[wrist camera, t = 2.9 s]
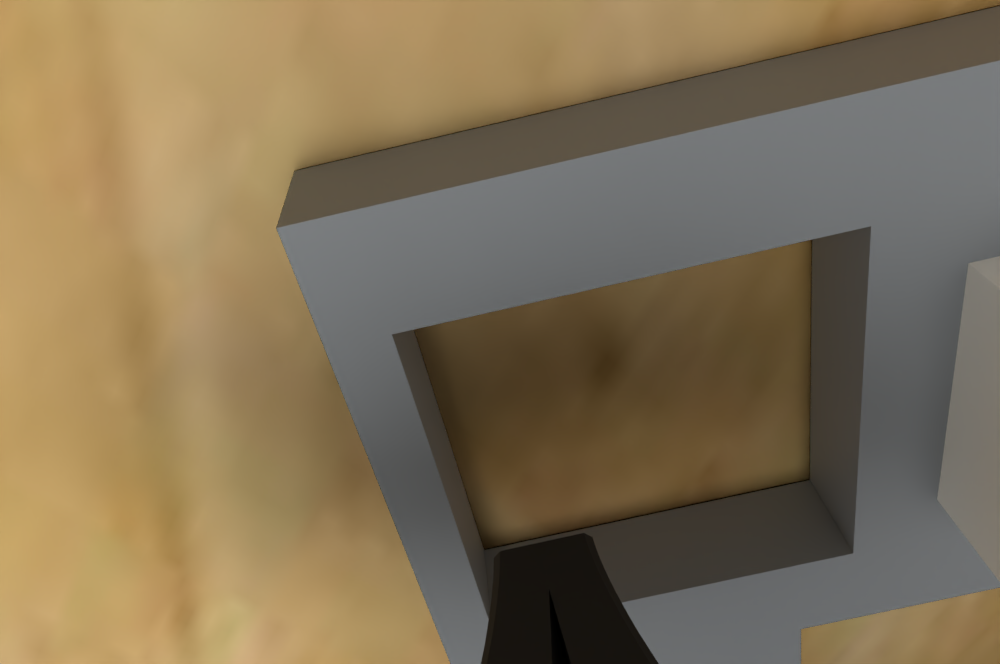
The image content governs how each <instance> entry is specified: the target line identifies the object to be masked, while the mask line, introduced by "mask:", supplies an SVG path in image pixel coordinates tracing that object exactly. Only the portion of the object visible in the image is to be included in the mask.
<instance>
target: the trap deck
mask: <svg viewBox="0 0 1000 664" xmlns="http://www.w3.org/2000/svg"><path fill="white" fill-rule="evenodd" d="M276 229H277V231H278V234H279V236H280V239H281V241H282V244H283V246H284V249H285V251H286V254H287V256H288V259H289V261H290V264H291V266H292V269H293V271H294V274H295V276H296V279H297V281H298V284H299V286H300V289H301V291H302V294H303V296H304V299H305V301H306V304H307V306H308V309H309V311H310V314H311V316H312V319H313V321H314V324H315V326H316V329H317V331H318V334H319V336H320V339H321V341H322V344H323V346H324V349H325V351H326V354H327V356H328V359H329V361H330V364H331V366H332V369H333V371H334V374H335V376H336V379H337V381H338V384H339V386H340V389H341V391H342V394H343V396H344V399H345V401H346V404H347V406H348V409H349V411H350V414H351V416H352V419H353V421H354V424H355V426H356V429H357V431H358V434H359V436H360V439H361V441H362V444H363V446H364V449H365V451H366V454H367V456H368V459H369V461H370V464H371V466H372V469H373V471H374V474H375V476H376V479H377V481H378V484H379V486H380V489H381V491H382V494H383V496H384V499H385V501H386V504H387V506H388V509H389V511H390V514H391V516H392V519H393V521H394V524H395V526H396V529H397V531H398V534H399V536H400V539H401V541H402V544H403V546H404V549H405V551H406V554H407V556H408V558H409V561H410V563H411V566H412V568H413V571H414V573H415V576H416V578H417V581H418V583H419V586H420V588H421V591H422V593H423V596H424V598H425V601H426V603H427V606H428V608H429V611H430V613H431V616H432V618H433V621H434V623H435V626H436V628H437V631H438V633H439V636H440V638H441V641H442V643H443V646H444V648H445V651H446V653H447V656H448V658H449V661H450V663H451V664H481V661H482V656H483V651H484V646H485V640H486V633H487V627H488V621H489V614H490V606H491V598H492V587H493V573H494V557H495V556H496V555H497V554H498V553H499V552H500V551H503V550H507V549H512V548H516V547H521V546H526V545H530V544H535V543H540V542H544V541H549V540H553V539H558V538H563V537H567V536H572V535H576V534H581V533H585V534H587V535H589V536H591V537H593V540H594V543H595V546H596V549H597V552H598V554H599V557H600V559H601V562H602V564H603V566H604V569H605V571H606V573H607V575H608V577H609V579H610V581H611V583H612V585H613V587H614V589H615V591H616V593H617V595H618V597H619V599H620V600H621V602H622V604H623V606H624V608H625V610H626V611H627V613H628V615H629V617H630V618H631V620H632V622H633V624H634V625H635V627H636V629H637V630H638V632H639V634H640V635H641V637H642V638H643V640H644V641H645V643H646V645H647V646H648V648H649V649H650V651H651V652H652V654H653V656H654V657H655V659H656V660H657V662H658V663H659V664H801V629H804V628H809V627H813V626H818V625H823V624H828V623H833V622H837V621H842V620H847V619H852V618H856V617H861V616H866V615H871V614H876V613H880V612H885V611H890V610H895V609H899V608H904V607H909V606H914V605H919V604H923V603H928V602H933V601H938V600H942V599H947V598H952V597H957V596H962V595H966V594H971V593H976V592H981V591H985V590H990V589H995V588H1000V582H999V580H998V579H997V578H996V576H995V575H994V574H993V572H992V571H991V570H990V569H989V567H988V566H987V565H986V563H985V562H984V561H983V559H982V558H981V557H980V555H979V554H978V553H977V551H976V550H975V549H974V547H973V546H972V545H971V544H970V542H969V541H968V540H967V538H966V537H965V536H964V534H963V533H962V532H961V530H960V529H959V528H958V526H957V525H956V524H955V522H954V521H953V520H952V518H951V517H950V516H949V515H948V513H947V512H946V511H945V509H944V508H943V507H942V505H941V504H940V503H939V501H938V500H937V497H938V489H939V482H940V474H941V467H942V459H943V452H944V444H945V437H946V429H947V422H948V414H949V406H950V399H951V391H952V384H953V376H954V369H955V361H956V354H957V346H958V339H959V331H960V323H961V316H962V308H963V301H964V293H965V286H966V278H967V271H968V263H972V262H976V261H981V260H985V259H990V258H994V257H998V256H1000V6H997V7H993V8H988V9H984V10H980V11H976V12H971V13H967V14H963V15H959V16H954V17H950V18H946V19H941V20H937V21H933V22H929V23H924V24H920V25H916V26H912V27H907V28H903V29H899V30H894V31H890V32H886V33H882V34H877V35H873V36H869V37H865V38H860V39H856V40H852V41H847V42H843V43H839V44H835V45H830V46H826V47H822V48H818V49H813V50H809V51H805V52H800V53H796V54H792V55H788V56H783V57H779V58H775V59H771V60H766V61H762V62H758V63H754V64H749V65H745V66H741V67H736V68H732V69H728V70H724V71H719V72H715V73H711V74H707V75H702V76H698V77H694V78H689V79H685V80H681V81H677V82H672V83H668V84H664V85H660V86H655V87H651V88H647V89H642V90H638V91H634V92H630V93H625V94H621V95H617V96H613V97H608V98H604V99H600V100H595V101H591V102H587V103H583V104H578V105H574V106H570V107H566V108H561V109H557V110H553V111H549V112H544V113H540V114H536V115H531V116H527V117H523V118H519V119H514V120H510V121H506V122H502V123H497V124H493V125H489V126H484V127H480V128H476V129H472V130H467V131H463V132H459V133H455V134H450V135H446V136H442V137H437V138H433V139H429V140H425V141H420V142H416V143H412V144H408V145H403V146H399V147H395V148H390V149H386V150H382V151H378V152H373V153H369V154H365V155H361V156H356V157H352V158H348V159H344V160H339V161H335V162H331V163H326V164H322V165H318V166H314V167H309V168H305V169H301V170H297V171H294V174H293V177H292V180H291V183H290V186H289V190H288V193H287V196H286V199H285V202H284V205H283V209H282V212H281V215H280V218H279V221H278V224H277V227H276ZM808 240H812V308H811V412H810V480H808V481H803V482H798V483H794V484H789V485H784V486H780V487H775V488H770V489H766V490H761V491H757V492H752V493H747V494H743V495H738V496H733V497H729V498H724V499H719V500H715V501H710V502H706V503H701V504H696V505H692V506H687V507H682V508H678V509H673V510H668V511H664V512H659V513H655V514H650V515H645V516H641V517H636V518H631V519H627V520H622V521H617V522H613V523H608V524H604V525H599V526H594V527H590V528H585V529H580V530H576V531H571V532H566V533H562V534H557V535H553V536H548V537H543V538H539V539H534V540H529V541H525V542H520V543H515V544H511V545H506V546H502V547H497V548H492V549H488V550H484V548H483V545H482V542H481V539H480V536H479V532H478V529H477V526H476V523H475V520H474V517H473V514H472V511H471V507H470V504H469V501H468V498H467V495H466V492H465V489H464V486H463V482H462V479H461V476H460V473H459V470H458V467H457V464H456V461H455V457H454V454H453V451H452V448H451V445H450V442H449V439H448V436H447V432H446V429H445V426H444V423H443V420H442V417H441V414H440V411H439V407H438V404H437V401H436V398H435V395H434V392H433V389H432V386H431V382H430V379H429V376H428V373H427V370H426V367H425V364H424V361H423V357H422V354H421V351H420V348H419V345H418V342H417V339H416V336H415V332H414V329H419V328H423V327H427V326H432V325H436V324H441V323H445V322H449V321H454V320H458V319H463V318H467V317H472V316H476V315H480V314H485V313H489V312H494V311H498V310H503V309H507V308H511V307H516V306H520V305H525V304H529V303H534V302H538V301H542V300H547V299H551V298H556V297H560V296H565V295H569V294H573V293H578V292H582V291H587V290H591V289H595V288H600V287H604V286H609V285H613V284H618V283H622V282H626V281H631V280H635V279H640V278H644V277H649V276H653V275H657V274H662V273H666V272H671V271H675V270H680V269H684V268H688V267H693V266H697V265H702V264H706V263H711V262H715V261H719V260H724V259H728V258H733V257H737V256H742V255H746V254H750V253H755V252H759V251H764V250H768V249H772V248H777V247H781V246H786V245H790V244H795V243H799V242H803V241H808Z"/></svg>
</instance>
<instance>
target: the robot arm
mask: <svg viewBox="0 0 1000 664" xmlns="http://www.w3.org/2000/svg"><path fill="white" fill-rule="evenodd" d="M481 664H659V663H658V662H657V660H656V659H655V657H654V656H653V654H652V652H651V651H650V649H649V648H648V646H647V645H646V643H645V641H644V640H643V638H642V637H641V635H640V634H639V632H638V630H637V629H636V627H635V625H634V624H633V622H632V620H631V618H630V617H629V615H628V613H627V611H626V610H625V608H624V606H623V604H622V602H621V600H620V599H619V597H618V595H617V593H616V591H615V589H614V587H613V585H612V583H611V581H610V579H609V577H608V575H607V573H606V571H605V569H604V566H603V564H602V562H601V559H600V557H599V554H598V552H597V549H596V546H595V543H594V540H593V537H591V536H589V535H587V534H585V533H581V534H576V535H572V536H567V537H563V538H558V539H553V540H549V541H544V542H540V543H535V544H530V545H526V546H521V547H516V548H512V549H507V550H503V551H500V552H499V553H498V554H497V555H496V556H495V557H494V573H493V587H492V598H491V606H490V614H489V621H488V627H487V633H486V640H485V646H484V651H483V656H482V661H481Z"/></svg>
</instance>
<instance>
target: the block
mask: <svg viewBox="0 0 1000 664" xmlns="http://www.w3.org/2000/svg"><path fill="white" fill-rule="evenodd" d="M937 500H938V501H939V503H940V504H941V505H942V507H943V508H944V509H945V511H946V512H947V513H948V515H949V516H950V517H951V518H952V520H953V521H954V522H955V524H956V525H957V526H958V528H959V529H960V530H961V532H962V533H963V534H964V536H965V537H966V538H967V540H968V541H969V542H970V544H971V545H972V546H973V547H974V549H975V550H976V551H977V553H978V554H979V555H980V557H981V558H982V559H983V561H984V562H985V563H986V565H987V566H988V567H989V569H990V570H991V571H992V572H993V574H994V575H995V576H996V578H997V579H998V580H999V582H1000V256H998V257H994V258H990V259H985V260H981V261H976V262H972V263H968V271H967V278H966V286H965V293H964V301H963V308H962V316H961V323H960V331H959V339H958V346H957V354H956V361H955V369H954V376H953V384H952V391H951V399H950V406H949V414H948V422H947V429H946V437H945V444H944V452H943V459H942V467H941V474H940V482H939V489H938V497H937Z"/></svg>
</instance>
